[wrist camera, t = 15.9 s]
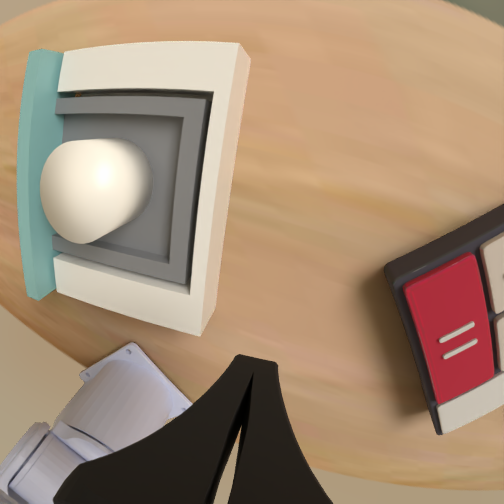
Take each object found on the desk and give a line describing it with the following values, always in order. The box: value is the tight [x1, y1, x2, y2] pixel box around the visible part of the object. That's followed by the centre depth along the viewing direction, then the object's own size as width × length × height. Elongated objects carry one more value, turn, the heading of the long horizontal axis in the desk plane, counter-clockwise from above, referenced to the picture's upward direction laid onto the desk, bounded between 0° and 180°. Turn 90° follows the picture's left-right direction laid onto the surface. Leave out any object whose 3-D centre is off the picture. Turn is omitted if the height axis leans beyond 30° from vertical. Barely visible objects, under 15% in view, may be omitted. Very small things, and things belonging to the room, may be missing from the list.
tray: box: [17, 49, 212, 301], centre depth 17 cm, size 11×16×4 cm
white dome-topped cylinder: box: [40, 138, 153, 244], centre depth 16 cm, size 5×5×4 cm
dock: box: [53, 41, 251, 336], centre depth 18 cm, size 11×16×4 cm
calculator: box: [384, 204, 504, 435], centre depth 18 cm, size 11×4×15 cm
